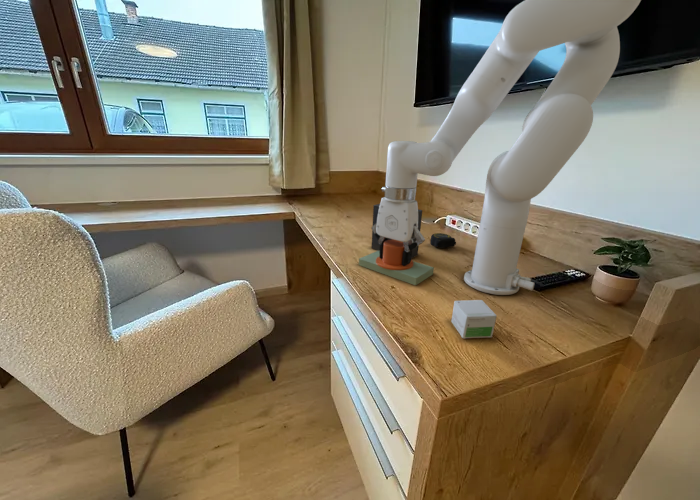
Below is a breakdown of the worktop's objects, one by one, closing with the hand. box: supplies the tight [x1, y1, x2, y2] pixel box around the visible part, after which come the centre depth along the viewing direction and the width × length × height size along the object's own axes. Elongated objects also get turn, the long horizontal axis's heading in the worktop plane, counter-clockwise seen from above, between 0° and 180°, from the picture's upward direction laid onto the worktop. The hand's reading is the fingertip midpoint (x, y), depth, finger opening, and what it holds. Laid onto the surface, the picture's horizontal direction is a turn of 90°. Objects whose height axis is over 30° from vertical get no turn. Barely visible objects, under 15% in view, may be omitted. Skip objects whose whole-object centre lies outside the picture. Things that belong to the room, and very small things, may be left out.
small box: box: [451, 299, 497, 340], centre depth 57 cm, size 6×6×5 cm
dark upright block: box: [370, 203, 423, 259], centre depth 94 cm, size 14×5×14 cm, turn 49°
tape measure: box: [429, 232, 457, 249], centre depth 102 cm, size 7×7×4 cm
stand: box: [358, 250, 435, 286], centre depth 83 cm, size 18×9×2 cm, turn 49°
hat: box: [376, 240, 414, 270], centre depth 82 cm, size 10×10×6 cm
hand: (394, 260), depth 83 cm, fingers closed on hat, 6 cm apart
